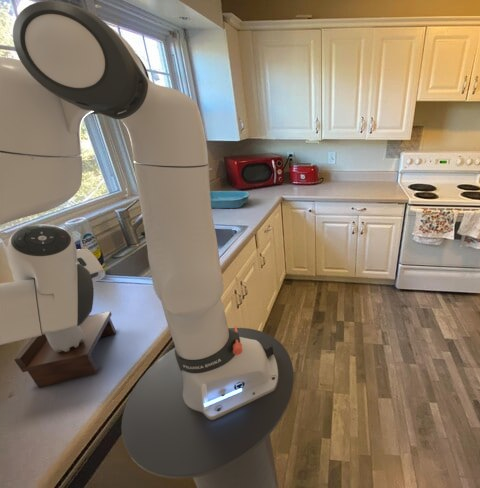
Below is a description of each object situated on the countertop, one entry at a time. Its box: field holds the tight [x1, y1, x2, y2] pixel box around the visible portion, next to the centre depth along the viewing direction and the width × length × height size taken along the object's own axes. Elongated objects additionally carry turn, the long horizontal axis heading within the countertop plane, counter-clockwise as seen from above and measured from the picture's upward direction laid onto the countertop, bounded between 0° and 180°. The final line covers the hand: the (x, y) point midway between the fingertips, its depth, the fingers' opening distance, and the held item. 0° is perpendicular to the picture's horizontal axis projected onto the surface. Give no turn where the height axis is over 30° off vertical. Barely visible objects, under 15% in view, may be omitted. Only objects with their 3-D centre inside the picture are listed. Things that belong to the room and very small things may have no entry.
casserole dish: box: [210, 190, 251, 209], centre depth 196 cm, size 37×22×7 cm, turn 85°
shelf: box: [13, 311, 117, 388], centre depth 74 cm, size 13×17×10 cm
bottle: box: [45, 326, 84, 352], centre depth 66 cm, size 7×7×20 cm
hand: (49, 301), depth 65 cm, fingers open, 8 cm apart
